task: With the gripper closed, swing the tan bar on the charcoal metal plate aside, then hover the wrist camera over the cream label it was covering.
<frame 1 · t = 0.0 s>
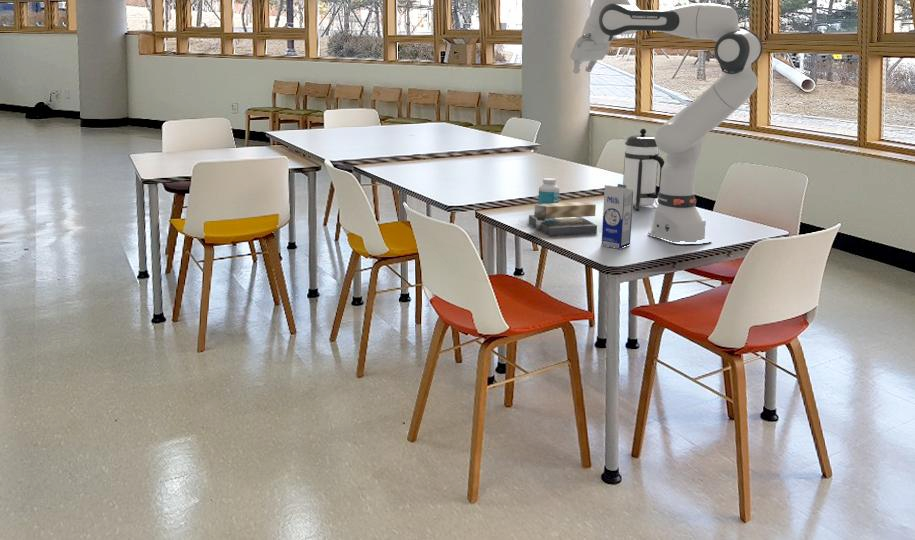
hand: (581, 72, 328), 52 cm above the table, tool tilted 20°, fingers open, 8 cm apart
milk carton: (615, 246, 306), on the table
coffee press: (641, 208, 364), on the table
tan bar: (563, 210, 326), point 6 cm above the table, hinge at 0.0°
panel: (562, 228, 328), on the table
pill bottle: (547, 215, 348), on the table
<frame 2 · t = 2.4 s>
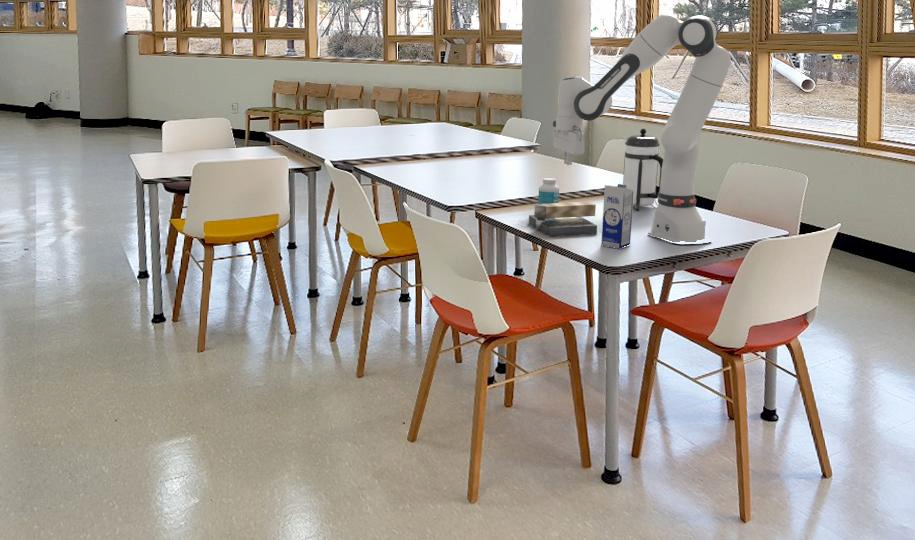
hand: (567, 164, 330), 21 cm above the table, tool pointing down, fingers closed
nothing on the table moved.
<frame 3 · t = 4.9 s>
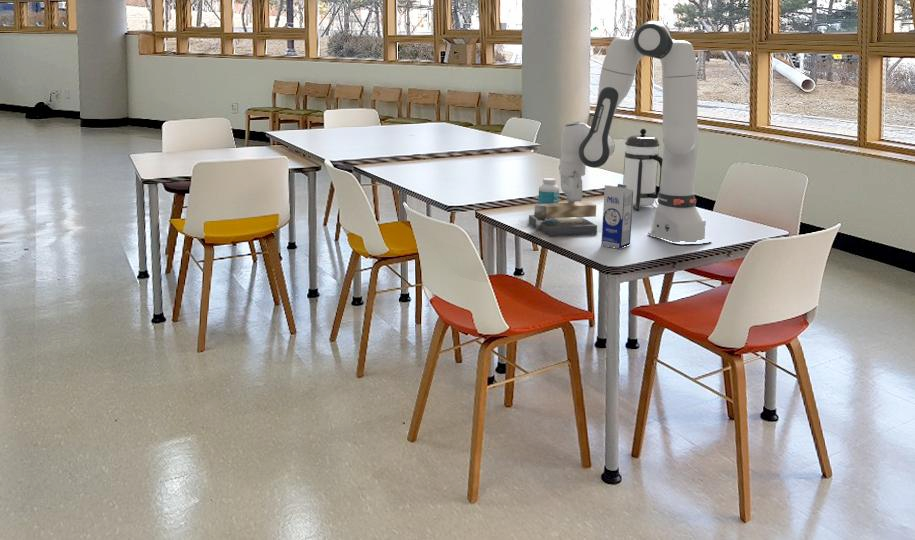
hand: (570, 208, 331), 6 cm above the table, tool pointing down, fingers closed
tan bar: (564, 210, 326), point 6 cm above the table, hinge at -2.4°, touching gripper
everything else where it was.
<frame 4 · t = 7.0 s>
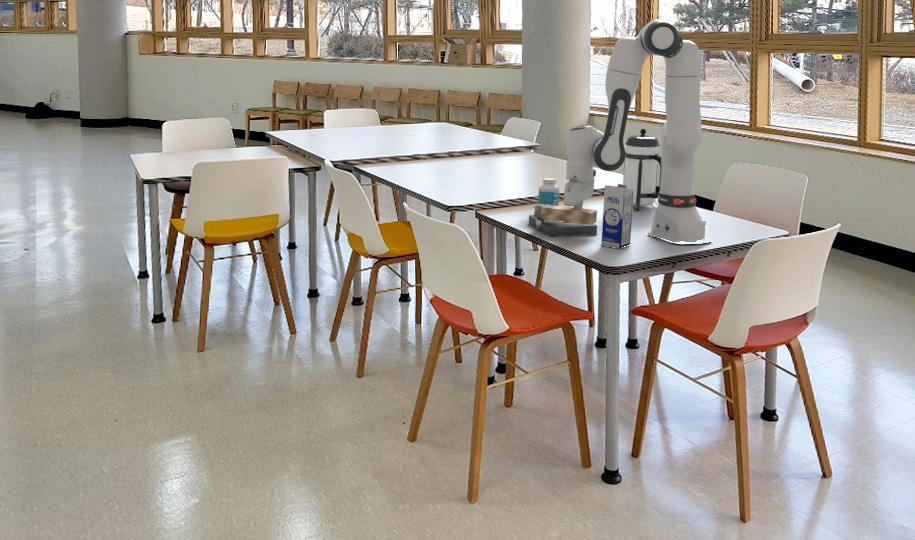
hand: (577, 214, 323), 6 cm above the table, tool pointing down, fingers closed
tan bar: (564, 214, 321), point 6 cm above the table, hinge at -42.7°, touching gripper
everything else where it was.
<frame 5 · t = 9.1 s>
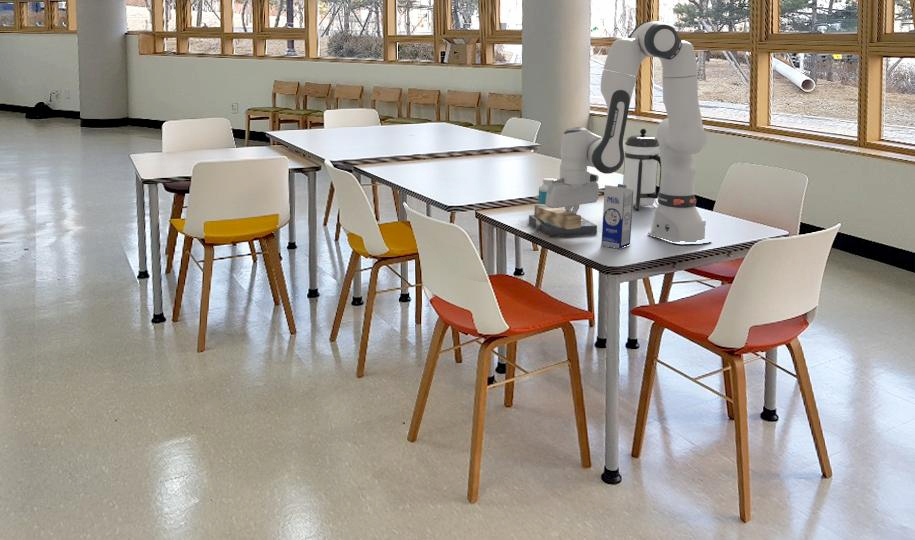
hand: (571, 218, 317), 6 cm above the table, tool pointing down, fingers closed
tan bar: (555, 216, 317), point 6 cm above the table, hinge at -76.0°, touching gripper
everything else where it was.
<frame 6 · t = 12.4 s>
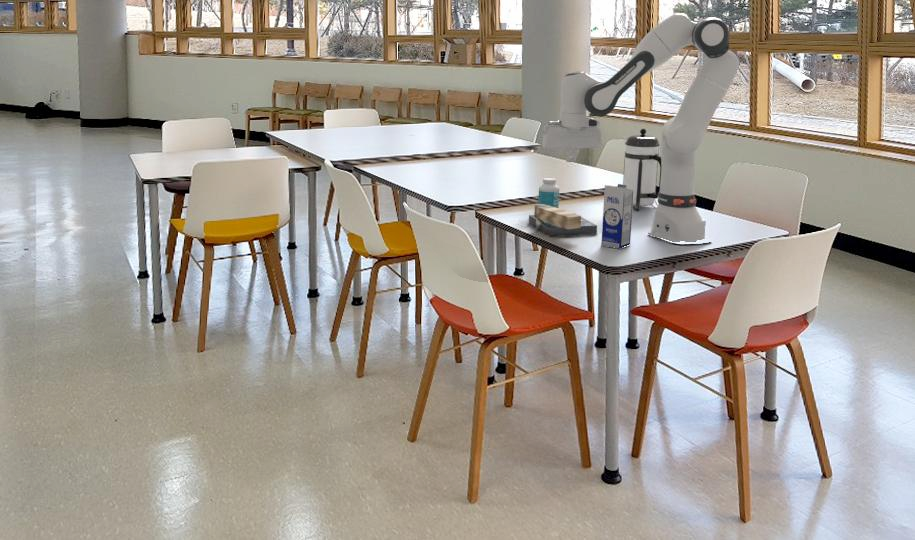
hand: (570, 161, 322), 23 cm above the table, tool pointing down, fingers closed
tan bar: (555, 216, 317), point 6 cm above the table, hinge at -76.0°
everything else where it was.
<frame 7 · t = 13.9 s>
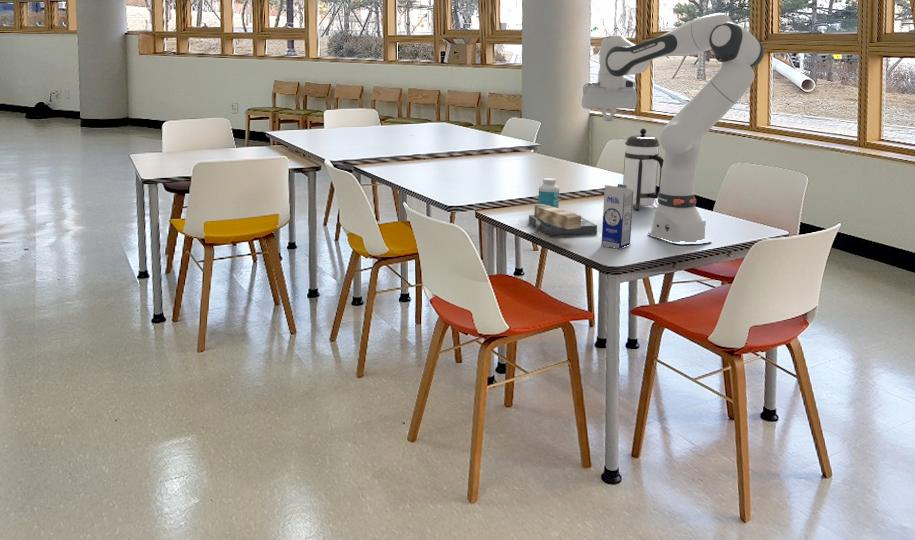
hand: (608, 121, 343), 34 cm above the table, tool pointing down, fingers closed
nothing on the table moved.
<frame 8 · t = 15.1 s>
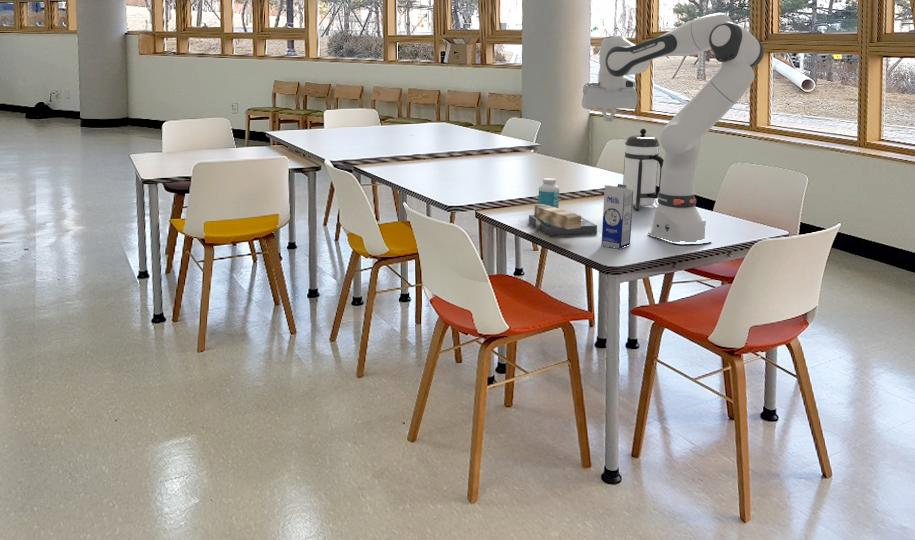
hand: (608, 121, 343), 34 cm above the table, tool pointing down, fingers closed
nothing on the table moved.
at the end: tan bar at -76° (first picture: +0°); pill bottle moved 0.2 cm from its start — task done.
